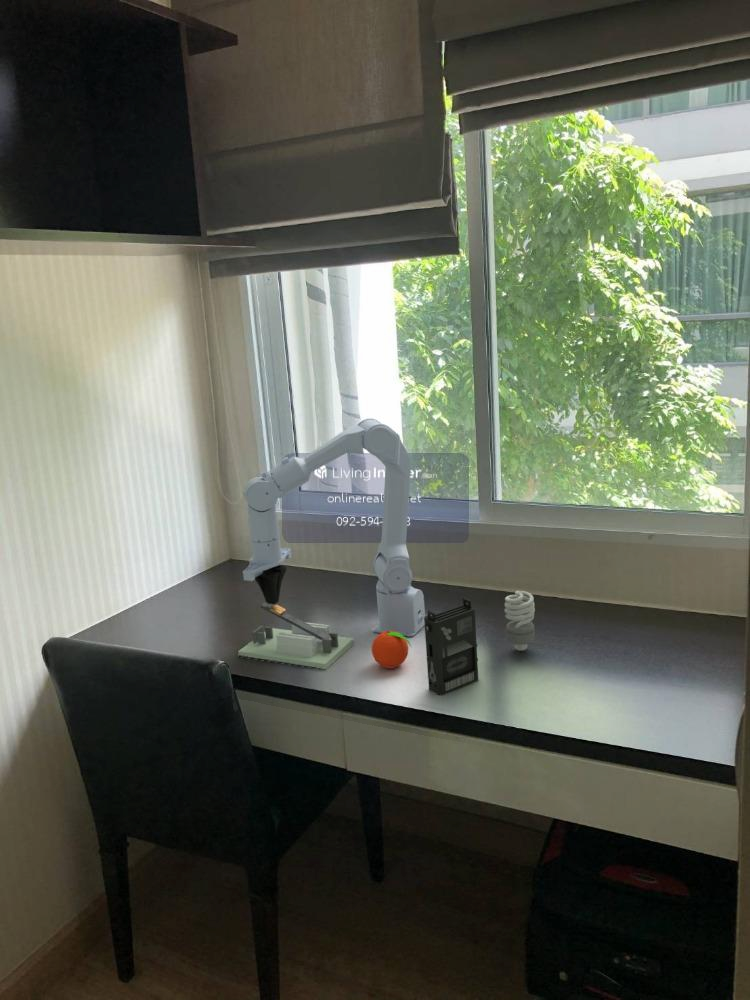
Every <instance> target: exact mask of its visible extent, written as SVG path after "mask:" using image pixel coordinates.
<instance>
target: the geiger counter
mask: <svg viewBox="0 0 750 1000" xmlns="http://www.w3.org/2000/svg"><path fill="white" fill-rule="evenodd" d="M462 601H463V602H462V603H460V604H459V605H458V606H455V607H452V608H450V609H446V610H445V611H444V610H443V611H441V612H438V613H435V612H433V611H431V610H427V615H425V617H424V623H425V625H424V633H425V634H424V636H425V638H424V639H425V650H426V663H427V664H426V665H427V679H428V690H429V691H430V692H432V693H433V694H435V695H437V696H444V695H447V694H450V693H452V692H454V691H456V690H459V689H461V688H464V687H466V686H468V685H471V684H473V683H475V682H479V667H478V665H479V664H478V661H479V658H478V649H477V648H478V643H477V627H476V623H477V622H476V608H475V607H472V603H471V600H470V599H467V598H465V597H464V598H463V599H462Z"/></svg>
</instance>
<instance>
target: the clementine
mask: <svg viewBox="0 0 750 1000" xmlns="http://www.w3.org/2000/svg"><path fill="white" fill-rule="evenodd" d="M408 644H409V645H408ZM409 646H410V647H411V648H412V645H411V643H410V640H408V638H407V637H406V636H403V635H401V634H400V633H398V632H395V631H384V632H382V633H379V634H378V635H376V637H375V638H374V640H373V642H372V645H371V654H372V657H373V659H374V661H375V662H376V663H377V664H378V665H379V666H381V667H383V668H385V669H394V668H397V667H400V666H401V665H402V664H403V663H404V662H405V661H406V659H407V657H408V655H409Z"/></svg>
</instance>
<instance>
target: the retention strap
mask: <svg viewBox="0 0 750 1000" xmlns="http://www.w3.org/2000/svg"><path fill="white" fill-rule="evenodd" d="M260 608H261V609H263V610H265V611H266V612H268V613H270V614H272V615H274V616H275V617H277V618H279V619H281V620H283V621H285V622H287V623H289V624H290V625H291V626H292V625H294V626H296V627H298V628H300V629H302V630H304V631H305V632H307V633H309V634H311V635H313V636H315V637H317V638H319V639H320V640H322V639H323V638H324V639H330V642H332V641H333V640H334V637H333V636H330V635H328V634H326V633H324V632H322V631H320V630H318V629H316V628H314V627H313V626H311V625H309V624H307V623H308V622H306V623H305V621H303V620H301V619H299V618H298V617H295V616H294V615H292V614H290V613H288V612H286V611H287V609H286V608H284V607H282V606H280V605H278V603H276V604H267V603H266V601H265V602H263V603H262V604H261V605H260Z"/></svg>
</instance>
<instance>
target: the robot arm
mask: <svg viewBox="0 0 750 1000" xmlns="http://www.w3.org/2000/svg"><path fill="white" fill-rule="evenodd" d="M364 450H366V451H367V452H368V453H369V454H370V455H372V456H374V457H376V458H377V459H378V460H379V462H380V463H382V465H384V467H385V471H384V472H385V473H384V475H385V476H384V489H383V490H384V492H383V506H382V509H383V510H382V524H381V525H382V527H381V540H380V542H379V544H378V546H377V554H376V555H375V558H374V559H373V561H372V571H373V573H374V575H375V576H376V577H377V578H378V581H377V583H376V585H375V588H376V589H375V590H376V600H377V601H376V602H377V613H378V623H377V624H376V625H375V626H374V627H373V628H371V631H372V632H373V633H379V634H381V633H382V632H384V631H395V632H398V633H400V634H401V635H403V636H404V637H415V636H416V634H417V633H418V632H419V631H420V630H421V629H422V628H423V627H425V623H424V617H425V616H426V611H425V609H426V608H425V596H424V593H423V591H422V589H418V588H415V587H413V586H412V584H411V583H412V582H413V572H412V569H411V567H410V555H409V552H408V548H407V531H408V518H409V517H408V515H409V504H410V503H409V501H410V500H409V499H410V487H411V473H412V472H411V469H412V459H411V456H410V454H409V452H408V451H407V449H406V447H405V445H404V443H403V442H402V440H401V436H400V434H399V433H397V432H396V431H395V430H394V429H392V427H390V426H389V425H386V424H384V423H382V422H380V421H379V420H378V419H375V418H365V419H362V420H361V421H359V423H358V424H356V423H355V424H353V425H350V426H348V427H347V428H346V429H345V430H343V431H341V432H340V433H338V434H337V435H335V436H334V437H332V438H330V439H329V440H327V441H326V442H325V443H323V444H321V446H319V447H317V448H316V449H314V450H312V451H311V452H310V453H308V454H306V455H304V457H298V456H292V457H290V458H288V456H286V457H284V458H282V459H281V463H280V464H279V465H277V466H275V467H273V468H272V469H270V470H268V471H266V470H264V471H262V472H261V473H260V475H261V476H256V477H253V478H251V479H249V480H248V481H247V483H246V485H245V486H244V490H243V493H242V494H243V496H244V499H245V500H246V501H247V514H248V518H247V521H248V528H249V529H248V530H249V538H250V545H251V546H250V547H251V552H252V553H251V555H252V556H251V558H249V559H248V563H249V564H248V566H247V567H245V569H244V570H242V575H243V581H249V582H253V581H255V582H256V583H257V585H258V586H259V589H260V590H261V592H262V596H263V597H264V600H265V602H266V603H267V604H271V605H276V604H278V603H279V601H280V600H279V599H280V592H281V586H282V582H283V580H284V576H285V574H286V572H287V567H286V566H285V565H282V564H283V563H284V561H285V560H286V559H287V560H288V559H291V558H292V549H291V548H289V547H288V548H287V547H282V546H281V545H282V544H281V537H280V528H279V519H278V514H277V511H276V504H277V502H278V499H282V498H284V497H285V496H287V495H288V494H289V493H293V491H295V490H297V489H298V488H300V487H301V486H303V485H305V484H306V483H308V482H309V481H310V478H311V475H312V472H314V471H316V470H318V469H320V468H322V467H324V466H325V465H328V464H329V463H331V462H333V461H335V460H337V459H338V458H340V457H342V456H343V455H346V454H355V455H363V454H364V453H365V452H364Z"/></svg>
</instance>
